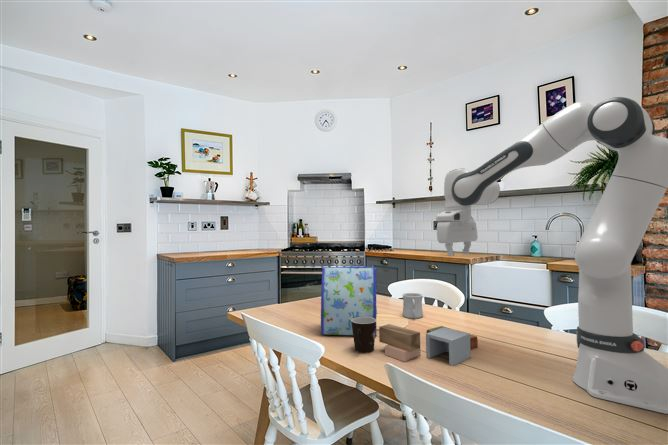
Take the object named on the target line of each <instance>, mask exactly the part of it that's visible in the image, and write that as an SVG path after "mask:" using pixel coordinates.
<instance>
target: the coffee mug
mask: <svg viewBox="0 0 668 445" xmlns="http://www.w3.org/2000/svg"><path fill="white" fill-rule="evenodd" d="M351 324H352V331H353V335H352V337H353V343H354V344H353V345H354V350H355V352H357V353H361V354H370V353H372V352H374V350H375V342H376V341H375V340H376V336H375V331H376V330H377V318H376V319H374V318H370V317H357V318H353V319H352V320H351ZM376 332H377V331H376Z"/></svg>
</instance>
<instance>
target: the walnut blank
mask: <svg viewBox="0 0 668 445" xmlns="http://www.w3.org/2000/svg"><path fill="white" fill-rule="evenodd" d="M378 328H379V329H378V332H379V333H378V334H379V337H378V340H379V343H382V344H386V345H391V346H394V347H397V348H400V349H403V350H406V351H410V352H411V351H414V350H416V349H419V348H420V349H421V332H420V331H417V330H412V329H409V328H406V327H402V326H398V325H393V324H390V323H388V324H385V325H381V326H379V327H378Z"/></svg>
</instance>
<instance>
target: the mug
mask: <svg viewBox="0 0 668 445" xmlns="http://www.w3.org/2000/svg"><path fill="white" fill-rule="evenodd" d="M402 300H403V302H402V303H403V304H402V305H403V307H402V316H403V317H404V318H406V319H421V318H422V317H424V311H423V294H421V293H418V292H417V293H416V292H407V293H403V294H402Z"/></svg>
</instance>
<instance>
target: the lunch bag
mask: <svg viewBox="0 0 668 445" xmlns="http://www.w3.org/2000/svg"><path fill="white" fill-rule="evenodd" d="M377 271H378V269H377V267H375V266H373V267H372V266H369V265H367V266H366V265H365V266H323V267H322V273H321V286H320V288H321V289H320V290H321V291H320V292H321V293H320V335H329V336H331V335H332V336H333V335H334V336H353V331H352V324H351V320H352V319H353V318H357V317H370V318H374V319H376V320H377V317H378V316H377V315H378V309H377V308H378V307H377V287H378V286H377ZM375 337H377V329H376V331H375Z"/></svg>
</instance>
